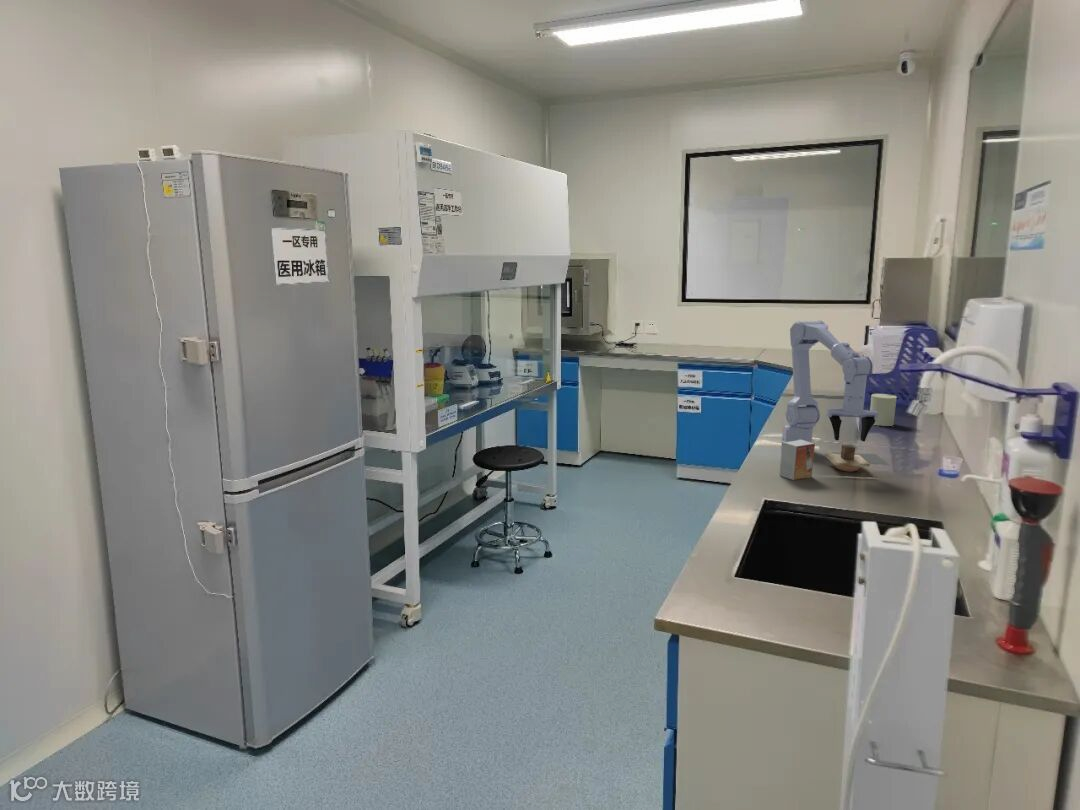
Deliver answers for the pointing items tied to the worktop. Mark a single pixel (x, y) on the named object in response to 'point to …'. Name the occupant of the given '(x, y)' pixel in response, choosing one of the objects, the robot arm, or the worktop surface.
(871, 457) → the mat
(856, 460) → the lid
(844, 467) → the pink rounded disc
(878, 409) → the can
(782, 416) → the worktop surface
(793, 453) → the small box
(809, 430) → the robot arm
